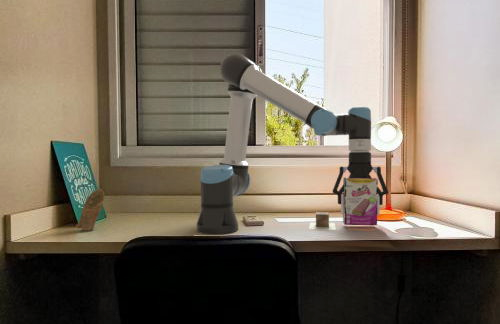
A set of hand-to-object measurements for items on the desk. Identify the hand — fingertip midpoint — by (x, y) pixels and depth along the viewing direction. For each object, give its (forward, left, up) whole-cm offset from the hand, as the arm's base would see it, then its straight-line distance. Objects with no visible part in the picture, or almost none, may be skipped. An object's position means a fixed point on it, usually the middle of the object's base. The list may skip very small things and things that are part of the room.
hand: (359, 214), depth 129 cm
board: (-6, 0, -6) cm, 9 cm away
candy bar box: (0, 0, -4) cm, 4 cm away
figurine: (-96, -12, -6) cm, 97 cm away
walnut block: (-13, 0, -4) cm, 14 cm away
